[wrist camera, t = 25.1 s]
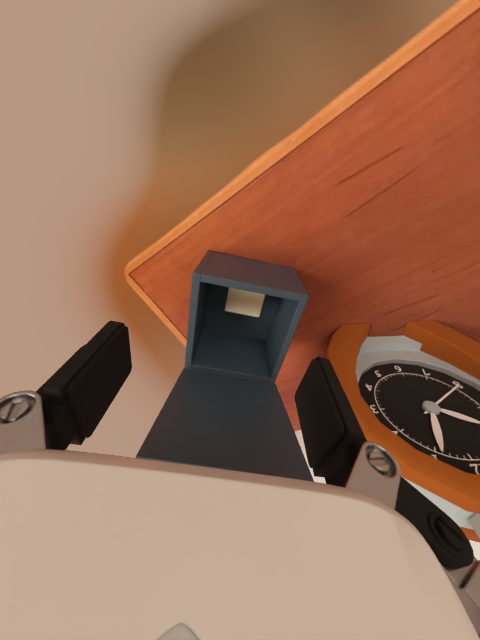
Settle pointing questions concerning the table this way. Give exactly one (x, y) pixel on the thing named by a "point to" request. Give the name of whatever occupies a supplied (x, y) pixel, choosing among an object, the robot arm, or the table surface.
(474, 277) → the table surface
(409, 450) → the alarm clock
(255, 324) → the chest
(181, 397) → the lid
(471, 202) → the table surface
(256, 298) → the block
